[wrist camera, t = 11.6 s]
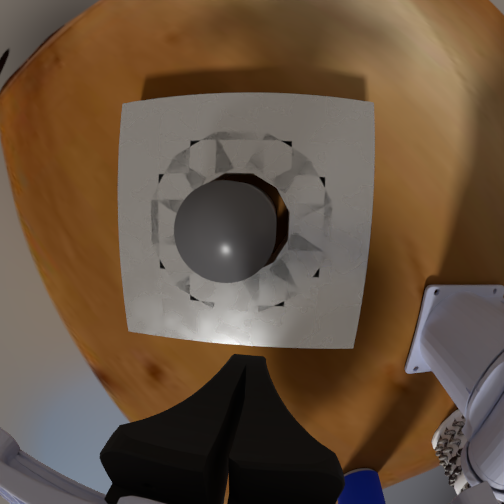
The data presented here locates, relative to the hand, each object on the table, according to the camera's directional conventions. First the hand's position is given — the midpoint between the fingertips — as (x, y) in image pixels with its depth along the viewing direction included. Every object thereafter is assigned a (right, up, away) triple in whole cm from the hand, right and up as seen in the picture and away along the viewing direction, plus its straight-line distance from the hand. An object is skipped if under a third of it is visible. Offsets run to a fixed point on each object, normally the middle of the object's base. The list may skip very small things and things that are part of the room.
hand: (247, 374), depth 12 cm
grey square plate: (0, +7, +8) cm, 11 cm away
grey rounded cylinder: (0, +7, +8) cm, 11 cm away
